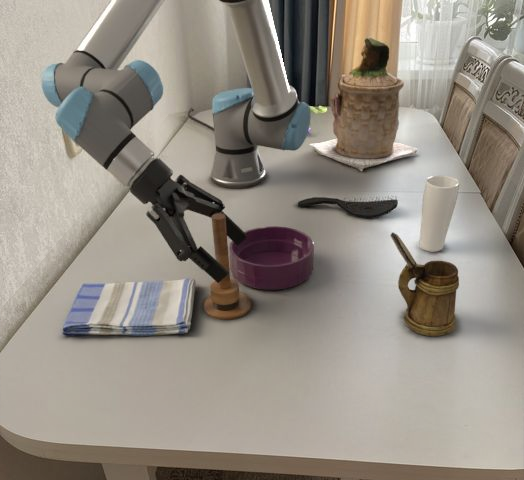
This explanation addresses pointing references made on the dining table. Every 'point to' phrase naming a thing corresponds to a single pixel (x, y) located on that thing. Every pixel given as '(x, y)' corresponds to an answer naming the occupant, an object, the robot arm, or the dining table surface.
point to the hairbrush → (356, 206)
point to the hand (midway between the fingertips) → (233, 258)
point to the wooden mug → (428, 293)
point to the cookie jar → (366, 113)
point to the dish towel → (132, 308)
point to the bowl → (272, 258)
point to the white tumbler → (437, 211)
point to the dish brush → (226, 289)
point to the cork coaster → (231, 314)
